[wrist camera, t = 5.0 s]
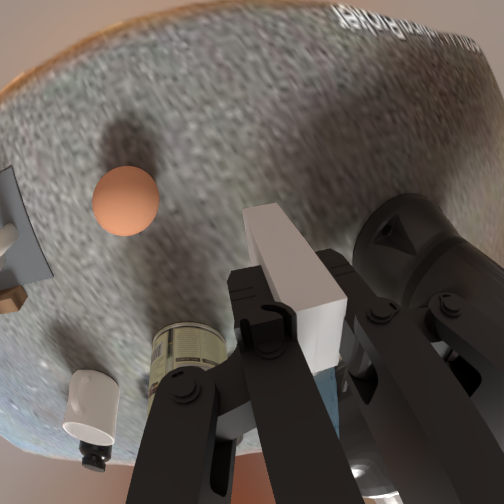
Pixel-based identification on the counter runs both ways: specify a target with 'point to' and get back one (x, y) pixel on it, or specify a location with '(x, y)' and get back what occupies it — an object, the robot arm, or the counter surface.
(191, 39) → the counter surface
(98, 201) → the ball
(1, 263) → the pin
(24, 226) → the pin deck mark
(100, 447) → the supplement bottle
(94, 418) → the mug
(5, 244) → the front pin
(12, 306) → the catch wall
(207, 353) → the coffee can
